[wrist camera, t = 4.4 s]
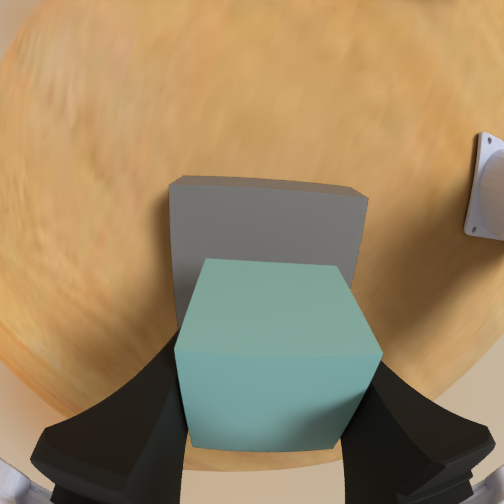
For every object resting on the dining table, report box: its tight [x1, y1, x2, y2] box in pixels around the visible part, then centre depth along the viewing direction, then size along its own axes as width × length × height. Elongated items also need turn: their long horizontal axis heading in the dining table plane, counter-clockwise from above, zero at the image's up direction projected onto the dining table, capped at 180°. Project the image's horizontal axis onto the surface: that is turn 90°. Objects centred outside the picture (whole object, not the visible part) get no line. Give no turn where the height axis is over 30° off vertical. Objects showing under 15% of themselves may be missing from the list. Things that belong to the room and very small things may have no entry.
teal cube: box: [174, 258, 383, 452], centre depth 9 cm, size 5×5×5 cm
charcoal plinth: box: [169, 176, 369, 329], centre depth 17 cm, size 10×10×3 cm
